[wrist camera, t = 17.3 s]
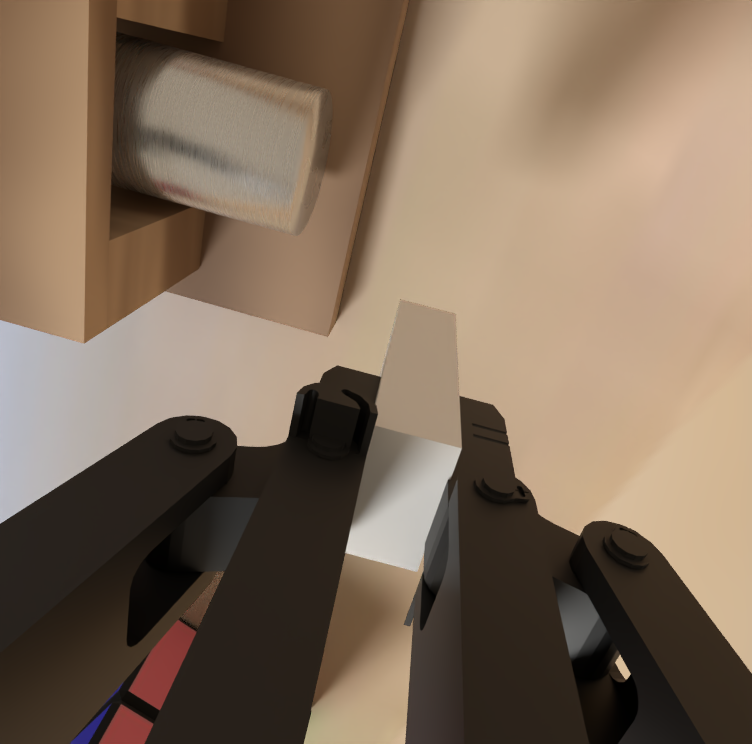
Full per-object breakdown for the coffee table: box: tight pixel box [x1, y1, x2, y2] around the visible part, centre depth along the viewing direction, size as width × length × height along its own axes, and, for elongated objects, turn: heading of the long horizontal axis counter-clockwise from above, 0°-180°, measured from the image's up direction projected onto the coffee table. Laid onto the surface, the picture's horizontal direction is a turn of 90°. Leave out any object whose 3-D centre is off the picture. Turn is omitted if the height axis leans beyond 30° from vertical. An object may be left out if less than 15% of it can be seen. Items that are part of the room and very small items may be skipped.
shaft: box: [111, 31, 333, 236], centre depth 16 cm, size 12×4×4 cm, turn 76°
